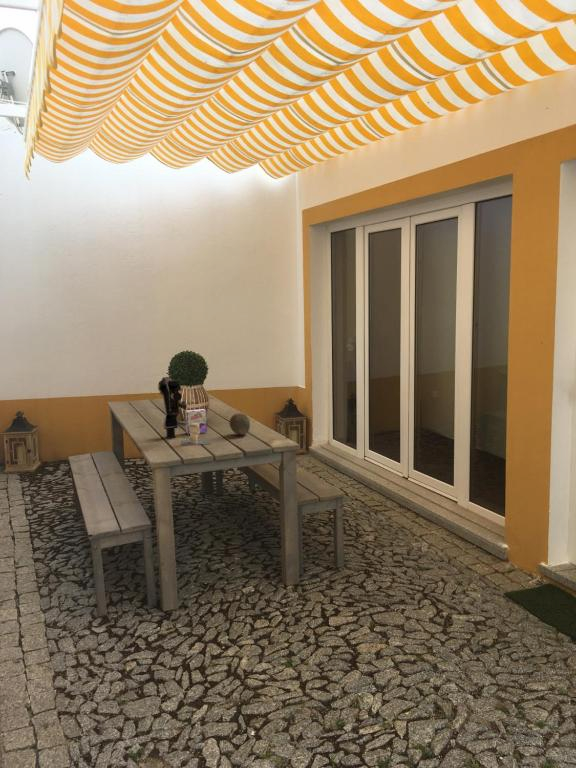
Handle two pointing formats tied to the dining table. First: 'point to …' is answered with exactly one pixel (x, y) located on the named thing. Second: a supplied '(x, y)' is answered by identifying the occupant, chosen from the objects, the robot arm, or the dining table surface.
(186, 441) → the rubber mat
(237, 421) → the cantaloupe
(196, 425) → the birch block
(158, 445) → the dining table surface
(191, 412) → the candy box
